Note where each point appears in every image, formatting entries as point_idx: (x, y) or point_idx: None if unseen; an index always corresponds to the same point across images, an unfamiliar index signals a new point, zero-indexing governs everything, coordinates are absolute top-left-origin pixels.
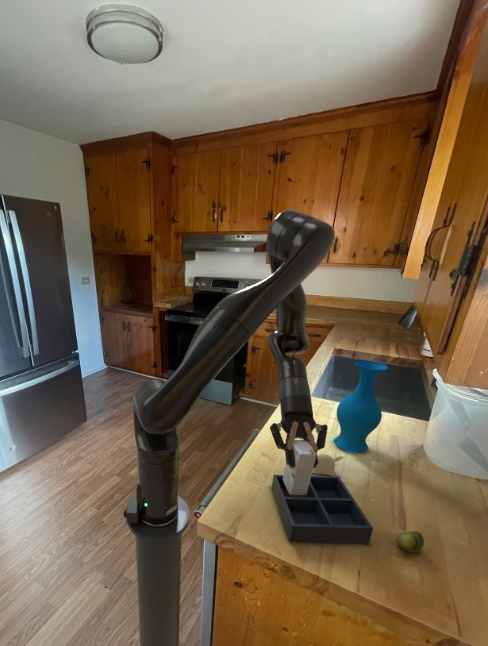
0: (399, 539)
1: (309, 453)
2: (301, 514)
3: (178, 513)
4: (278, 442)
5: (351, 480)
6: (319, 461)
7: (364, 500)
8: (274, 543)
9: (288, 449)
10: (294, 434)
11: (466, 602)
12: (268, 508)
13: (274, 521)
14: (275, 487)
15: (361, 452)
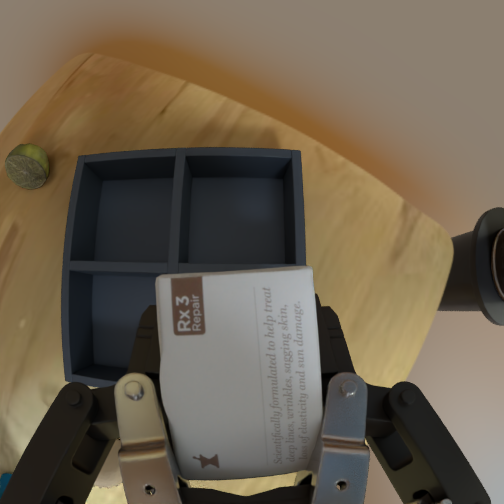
0: (43, 161)
1: (219, 281)
2: (229, 261)
3: (489, 264)
4: (428, 406)
5: (44, 400)
6: (107, 465)
7: (38, 323)
8: (325, 173)
9: (353, 375)
10: (326, 493)
11: (43, 95)
12: (319, 292)
13: (313, 242)
14: None
15: (11, 475)
